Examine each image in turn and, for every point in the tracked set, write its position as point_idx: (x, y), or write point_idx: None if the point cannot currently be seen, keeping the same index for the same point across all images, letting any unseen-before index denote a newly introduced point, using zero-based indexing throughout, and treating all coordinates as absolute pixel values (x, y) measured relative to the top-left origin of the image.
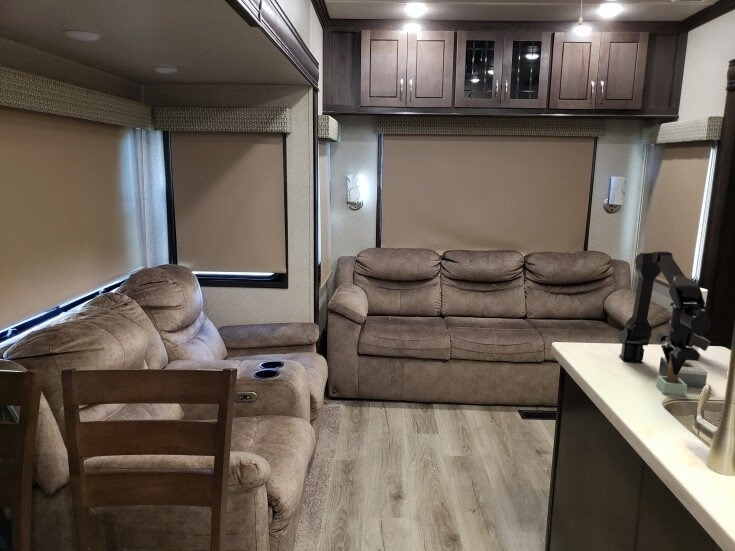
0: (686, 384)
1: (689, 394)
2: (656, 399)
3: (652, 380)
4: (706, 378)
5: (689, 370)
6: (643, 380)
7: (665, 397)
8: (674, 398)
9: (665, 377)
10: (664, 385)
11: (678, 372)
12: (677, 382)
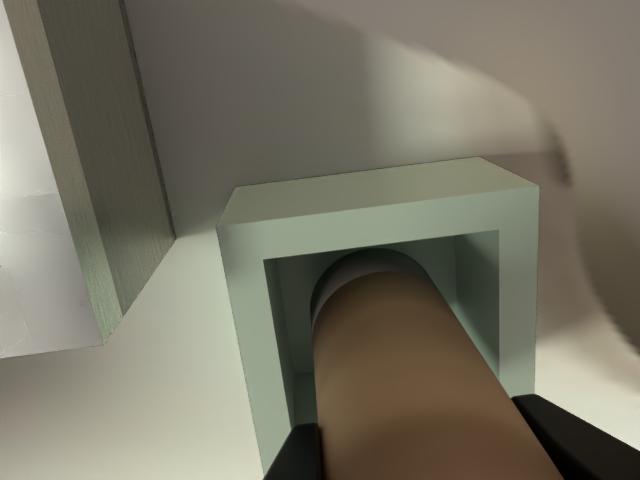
0: (125, 66)
1: (405, 92)
2: (631, 438)
3: (102, 400)
4: None
5: (5, 46)
6: (151, 476)
7: (565, 360)
8: (573, 284)
9: (287, 404)
10: None
11: (577, 418)
12: (430, 287)
